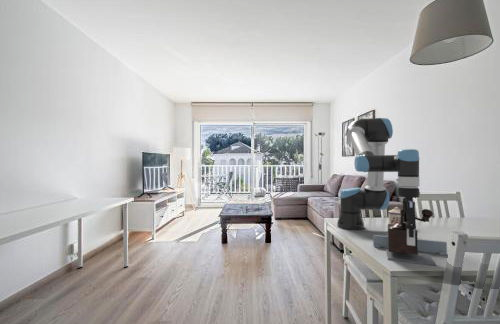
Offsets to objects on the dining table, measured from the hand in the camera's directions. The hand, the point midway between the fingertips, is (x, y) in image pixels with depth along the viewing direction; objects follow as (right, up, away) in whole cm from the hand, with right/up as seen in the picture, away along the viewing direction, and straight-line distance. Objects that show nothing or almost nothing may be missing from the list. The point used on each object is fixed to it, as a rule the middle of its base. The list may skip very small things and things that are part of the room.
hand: (408, 241), depth 108 cm
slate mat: (0, -7, 0) cm, 7 cm away
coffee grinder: (0, -4, 0) cm, 4 cm away
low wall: (+5, -7, +10) cm, 13 cm away
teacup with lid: (+25, -7, +51) cm, 57 cm away
